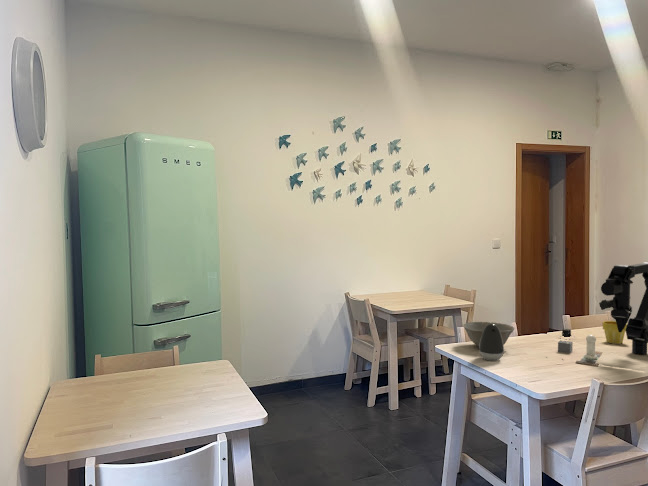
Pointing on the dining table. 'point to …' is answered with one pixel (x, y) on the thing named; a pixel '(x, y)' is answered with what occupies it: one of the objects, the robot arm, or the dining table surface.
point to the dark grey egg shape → (491, 343)
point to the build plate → (566, 332)
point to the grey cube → (565, 346)
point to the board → (590, 360)
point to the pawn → (590, 348)
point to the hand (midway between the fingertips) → (621, 330)
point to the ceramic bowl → (477, 328)
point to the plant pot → (613, 332)
